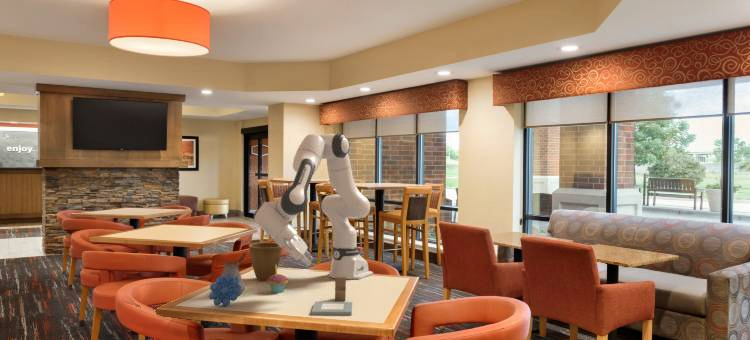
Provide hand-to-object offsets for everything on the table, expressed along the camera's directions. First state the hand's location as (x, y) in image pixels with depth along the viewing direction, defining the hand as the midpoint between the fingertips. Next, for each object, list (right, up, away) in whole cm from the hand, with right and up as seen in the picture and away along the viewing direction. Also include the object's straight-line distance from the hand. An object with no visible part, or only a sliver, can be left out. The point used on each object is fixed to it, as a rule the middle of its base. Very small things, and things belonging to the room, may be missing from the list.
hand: (311, 262), depth 213 cm
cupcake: (-16, -14, +13) cm, 25 cm away
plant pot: (-25, -14, +36) cm, 46 cm away
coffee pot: (-32, -14, +11) cm, 37 cm away
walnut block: (+11, -15, 0) cm, 19 cm away
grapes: (-31, -14, -11) cm, 36 cm away
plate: (+10, -15, -15) cm, 23 cm away
